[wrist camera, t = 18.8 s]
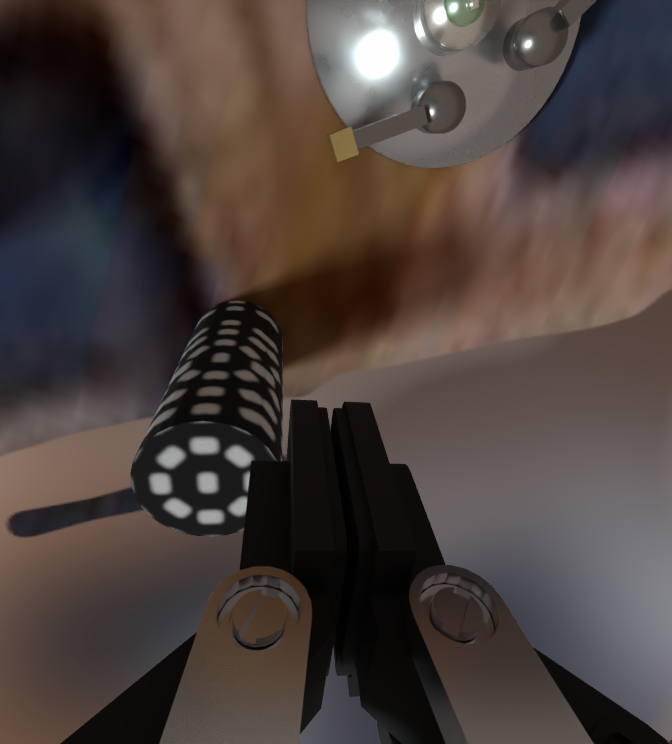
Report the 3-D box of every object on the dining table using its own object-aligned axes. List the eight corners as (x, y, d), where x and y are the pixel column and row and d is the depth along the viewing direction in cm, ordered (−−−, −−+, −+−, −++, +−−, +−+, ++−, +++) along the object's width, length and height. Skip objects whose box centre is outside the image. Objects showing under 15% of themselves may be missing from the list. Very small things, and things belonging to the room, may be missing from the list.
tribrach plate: (248, -43, 31) (242, -76, 26) (516, -266, 28) (564, -351, 23) (391, 215, 40) (405, 226, 35) (608, 69, 36) (657, 59, 31)
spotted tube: (282, 381, 46) (281, 534, 28) (197, 380, 45) (141, 538, 27) (283, 301, 42) (282, 420, 24) (190, 299, 41) (119, 421, 24)
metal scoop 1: (447, 78, 34) (464, 72, 31) (455, 125, 35) (472, 124, 32) (322, 125, 34) (326, 123, 31) (335, 169, 36) (340, 172, 33)
